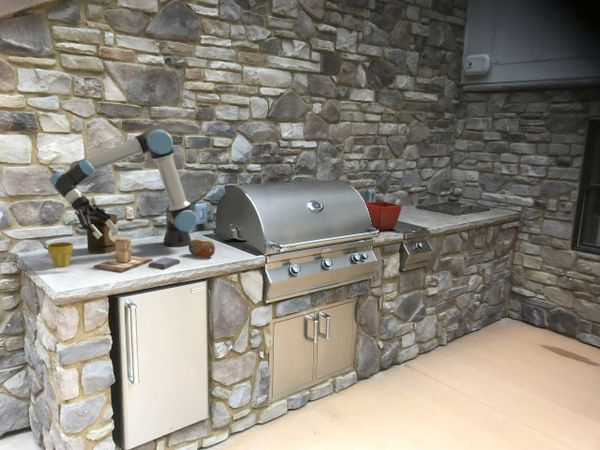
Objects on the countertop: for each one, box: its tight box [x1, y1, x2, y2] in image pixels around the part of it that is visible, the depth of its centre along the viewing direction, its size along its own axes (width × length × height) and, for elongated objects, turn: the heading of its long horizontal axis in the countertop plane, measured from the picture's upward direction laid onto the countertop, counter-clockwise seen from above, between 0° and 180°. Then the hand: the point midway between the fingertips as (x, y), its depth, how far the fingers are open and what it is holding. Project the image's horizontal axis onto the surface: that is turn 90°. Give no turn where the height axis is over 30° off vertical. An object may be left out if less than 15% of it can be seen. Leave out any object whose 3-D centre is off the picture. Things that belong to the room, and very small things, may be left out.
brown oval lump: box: [188, 239, 216, 259], centre depth 251 cm, size 15×3×8 cm, turn 64°
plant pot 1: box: [47, 241, 74, 268], centre depth 227 cm, size 10×10×10 cm
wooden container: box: [86, 208, 119, 255], centre depth 254 cm, size 15×15×22 cm
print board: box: [93, 255, 154, 274], centre depth 232 cm, size 22×16×1 cm
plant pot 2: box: [364, 201, 403, 231], centre depth 336 cm, size 19×19×17 cm
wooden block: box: [115, 236, 132, 263], centre depth 231 cm, size 5×5×11 cm
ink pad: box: [148, 256, 181, 270], centre depth 233 cm, size 12×9×2 cm
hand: (108, 233), depth 230 cm, fingers open, 13 cm apart
